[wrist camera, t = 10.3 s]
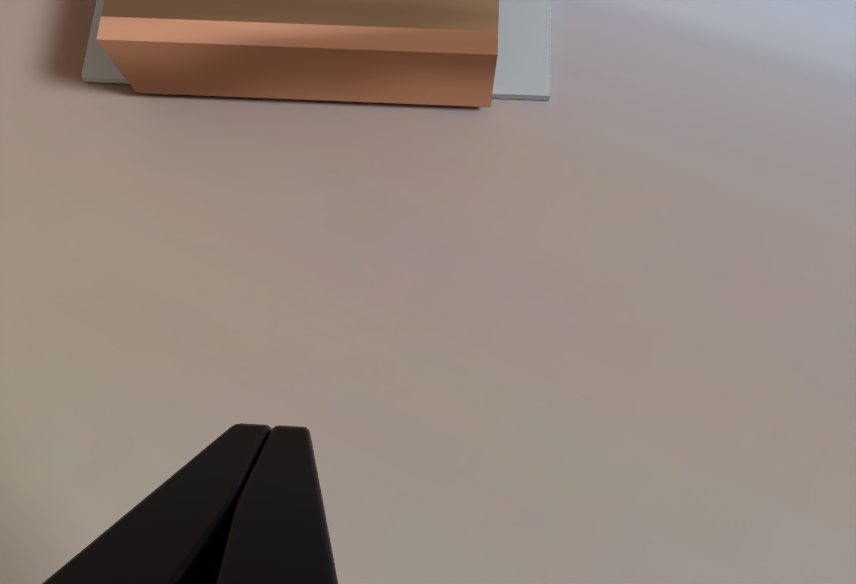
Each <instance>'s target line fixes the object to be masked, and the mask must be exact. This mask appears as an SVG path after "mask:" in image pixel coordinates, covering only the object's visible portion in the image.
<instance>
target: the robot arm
mask: <svg viewBox="0 0 856 584" xmlns="http://www.w3.org/2000/svg"><path fill="white" fill-rule="evenodd" d="M42 584H338V580H337V575H336V570H335V564H334V559H333V553H332V548H331V543H330V537H329V532H328V527H327V521H326V516H325V511H324V505H323V500H322V495H321V489H320V484H319V478H318V473H317V468H316V462H315V457H314V452H313V446H312V441H311V436H310V432H309V430H308V429H307V428H306V427H297V426H276V427H274V428H272V429H271V428H270V427H269V426H268V425H259V424H236V425H234V426H232V427H230V428H229V429H228V430H227V431H226V432H224V433H223V434H222V435H221V436H219V437H218V438H217V439H216V440H215V441H213V442H212V443H211V444H210V445H209V446H207V447H206V448H205V449H204V450H203V451H201V452H200V453H199V454H198V455H197V456H195V457H194V458H193V459H192V460H191V461H189V462H188V463H187V464H186V465H185V466H183V467H182V468H181V469H180V470H179V471H177V472H176V473H175V474H174V475H173V476H171V477H170V478H169V479H168V480H167V481H165V482H164V483H163V484H162V485H160V486H159V487H158V488H157V489H156V490H154V491H153V492H152V493H151V494H150V495H148V496H147V497H146V498H145V499H144V500H142V501H141V502H140V503H139V504H138V505H136V506H135V507H134V508H133V509H132V510H130V511H129V512H128V513H127V514H126V515H124V516H123V517H122V518H121V519H120V520H118V521H117V522H116V523H115V524H114V525H112V526H111V527H110V528H109V529H108V530H106V531H105V532H104V533H103V534H101V535H100V536H99V537H98V538H97V539H95V540H94V541H93V542H92V543H91V544H89V545H88V546H87V547H86V548H85V549H83V550H82V551H81V552H80V553H79V554H77V555H76V556H75V557H74V558H73V559H71V560H70V561H69V562H68V563H67V564H65V565H64V566H63V567H62V568H61V569H59V570H58V571H57V572H56V573H55V574H53V575H52V576H51V577H50V578H49V579H47V580H46V581H45V582H44V583H42Z"/></svg>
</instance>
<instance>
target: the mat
mask: <svg viewBox="0 0 856 584" xmlns="http://www.w3.org/2000/svg"><path fill="white" fill-rule="evenodd" d="M103 4H104V0H96V5H95V10H94V15H93V20H92V24H91V29H90V34H89V39H88V44H87V49H86V54H85V59H84V64H83V69H82V74H81V78H82V79H83V80H84V81H85V82H100V83H125V84H129V82H128V81H127V80H126V78H125V77H124V76H123V74H122V73H121V72H120V70H119V69H118V68H117V66H116V65H115V64H114V62H113V61H112V60H111V58H110V57H109V56H108V54H107V53H106V52H105V50H104V49H103V48H102V46H101V45H100V43H99V42H98V41H97V34H98V29H99V24H100V19H101V14H102V9H103ZM550 42H551V0H499V24H498V56H497V63H496V70H495V77H494V84H493V91H492V98H498V99H523V100H548V101H549V98H550Z"/></svg>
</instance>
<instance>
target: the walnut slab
mask: <svg viewBox="0 0 856 584" xmlns="http://www.w3.org/2000/svg"><path fill="white" fill-rule="evenodd" d="M498 24H499V0H104V4H103V9H102V14H101V19H100V24H99V29H98V34H97V41H98V42H99V43H100V45H101V46H102V48H103V49H104V50H105V52H106V53H107V54H108V56H109V57H110V58H111V60H112V61H113V62H114V64H115V65H116V66H117V68H118V69H119V70H120V72H121V73H122V74H123V76H124V77H125V78H126V80H127V81H128V82H129V84H130V85H131V86H132V88H133V89H134V90H135V92H136V93H153V94H178V95H203V96H227V97H252V98H277V99H302V100H326V101H351V102H376V103H401V104H425V105H450V106H475V107H490V105H491V98H492V91H493V84H494V77H495V70H496V63H497V56H498Z"/></svg>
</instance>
